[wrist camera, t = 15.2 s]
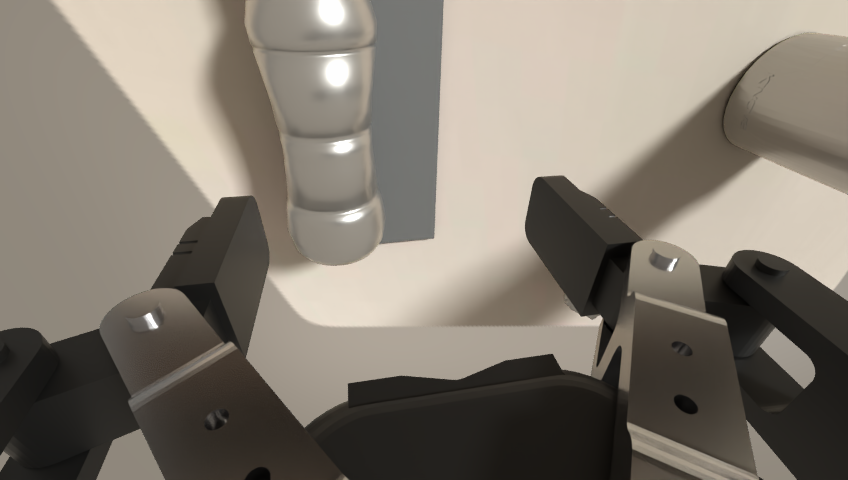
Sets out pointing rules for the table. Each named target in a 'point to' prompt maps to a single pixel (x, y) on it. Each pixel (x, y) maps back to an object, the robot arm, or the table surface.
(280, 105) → the plastic bottle
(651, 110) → the table surface
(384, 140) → the charcoal rubber mat
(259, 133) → the table surface
